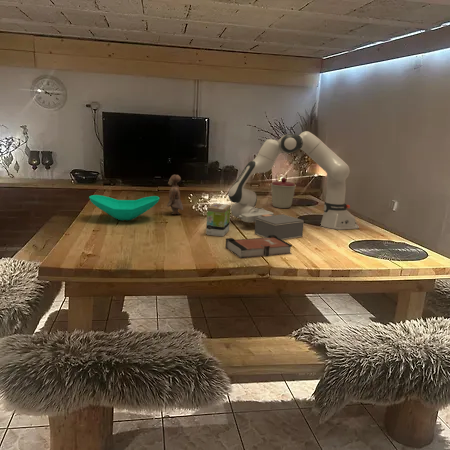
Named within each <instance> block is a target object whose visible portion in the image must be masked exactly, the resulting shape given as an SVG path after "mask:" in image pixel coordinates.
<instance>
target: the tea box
mask: <svg viewBox="0 0 450 450" xmlns="http://www.w3.org/2000/svg"><path fill="white" fill-rule="evenodd" d="M231 207H232V205H231V204H227V203H216V202H215V203H212V204H210V206H209V205H208V207H206V208H207V209H206V210H207V211H206V227H205V228H206V229H205V235H206V234H207V236H213V237H214V236H216V237H224V236H225V235H226V234H227V233H228V232H229V231H230V223H231Z"/></svg>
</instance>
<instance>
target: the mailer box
mask: <svg viewBox="0 0 450 450" xmlns="http://www.w3.org/2000/svg"><path fill="white" fill-rule="evenodd" d="M304 222H305V221H304ZM304 222H298V223H291V224H283V225H272V224H269V223H266V222H263V221H260V220H257V219H255V222H254V223H255V224H254V235H257V236H259V237H261V238H267V237H268V236H269V235H275V236H277V238H279V239H281V240H283V241H285V240H291V239H296V238H297V239H298V238H301V237H303V232H304Z"/></svg>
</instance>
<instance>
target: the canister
mask: <svg viewBox="0 0 450 450" xmlns="http://www.w3.org/2000/svg"><path fill="white" fill-rule="evenodd" d="M270 185H271V202H272V203H271V205H272V206H273V207H274V208H276V209H289V208H291V206H292V204H293V200H294V194H295V189H296V187H297V185H296V184H295V182H292V181H287V179H286V177H281V178H280V180H278V181H275V180H274V181H272V182H271V183H270Z"/></svg>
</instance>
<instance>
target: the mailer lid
mask: <svg viewBox="0 0 450 450" xmlns="http://www.w3.org/2000/svg"><path fill="white" fill-rule="evenodd" d="M262 216H263V217H256V219H257V220H260V221H263V222H266V223H269V224H272V225H283V224H291V223H298V222H305V220H304V219H300V218H298V217H294V216H291V215H286V214H284V213H283V214H274V216H273V215H269V214H267V215H262Z"/></svg>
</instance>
